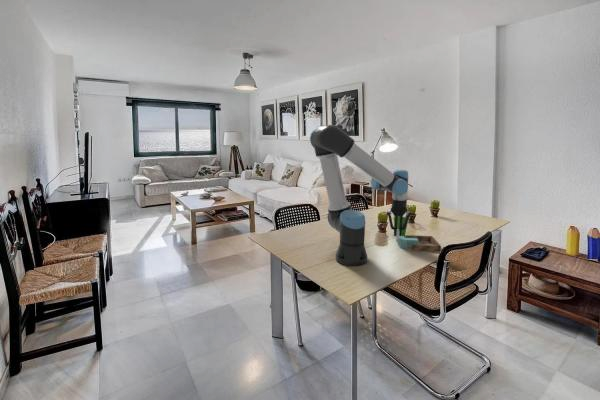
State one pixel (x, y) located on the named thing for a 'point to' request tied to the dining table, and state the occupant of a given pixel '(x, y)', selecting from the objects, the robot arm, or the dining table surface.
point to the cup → (402, 225)
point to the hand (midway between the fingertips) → (397, 241)
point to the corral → (433, 247)
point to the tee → (406, 241)
